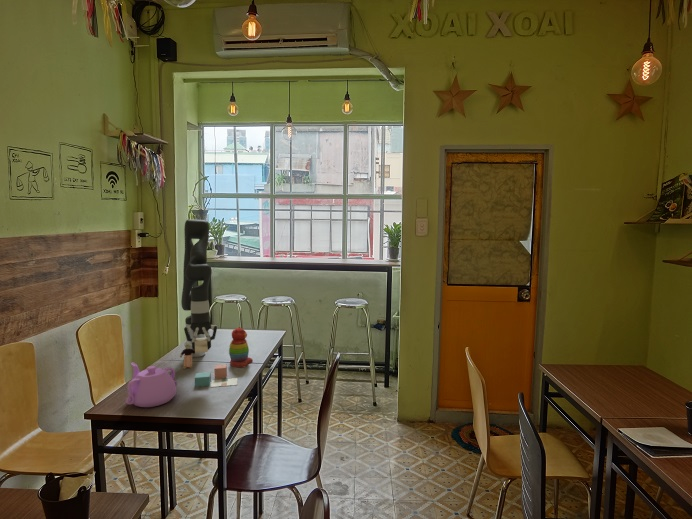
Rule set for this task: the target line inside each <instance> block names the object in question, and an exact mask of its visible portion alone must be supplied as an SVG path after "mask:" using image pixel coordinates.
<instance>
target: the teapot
mask: <svg viewBox="0 0 692 519" xmlns="http://www.w3.org/2000/svg"><path fill="white" fill-rule="evenodd" d="M130 365H131V366H132V378H131V380H129V382H128V383H127V385H126V386H127V387H126V388H127V393H128V397H126V398H125V403H126V404H127V405H134V406H135V407H139V408H153V407H157V406H161V405H164V404H166V403H168V402H170V401H171V400H172V399H173V398H174V396H175V395H176V393H177V385H178V381H176V380H175V377H176V371H175V368H173V367H169V366H167V367H165V368H160V367H157V366H156V365H151V366H148V367H147V366H146V369H144V370H142V371H140V368H139V367H138V366H139V365H137V363H135V362H134V361H133V362H131V363H130ZM168 371H170V373H169V372H168Z"/></svg>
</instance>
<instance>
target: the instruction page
mask: <svg viewBox="0 0 692 519" xmlns="http://www.w3.org/2000/svg"><path fill="white" fill-rule="evenodd" d="M238 380H239V379H238V378H237V377H234V378H226V379H211V383H210V388H217V387H219V386H221V387H231V386H230V385H233V386H238ZM219 388H220V387H219Z"/></svg>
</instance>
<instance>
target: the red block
mask: <svg viewBox="0 0 692 519" xmlns="http://www.w3.org/2000/svg"><path fill="white" fill-rule="evenodd" d="M227 368H228V365H227V363H223V364H215V365H214V372H213V373H214V380H221V379H222V378H226V379H227V378H228V377H227V376H228V369H227Z"/></svg>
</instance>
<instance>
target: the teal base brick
mask: <svg viewBox="0 0 692 519" xmlns="http://www.w3.org/2000/svg"><path fill="white" fill-rule="evenodd" d="M211 373H212V372H211V371H205V372H196V373H195V376H194V388H198V386H201V387H210V386H211V383H212V376H211ZM210 382H211V383H210ZM209 385H210V386H209Z"/></svg>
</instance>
